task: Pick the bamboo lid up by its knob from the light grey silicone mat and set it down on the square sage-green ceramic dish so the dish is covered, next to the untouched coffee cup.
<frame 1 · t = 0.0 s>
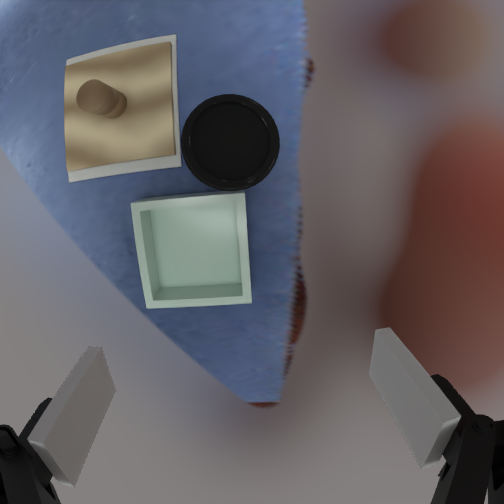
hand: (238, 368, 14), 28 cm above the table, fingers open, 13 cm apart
dish: (196, 243, 41), on the table
coffee cup: (232, 149, 38), on the table
lid: (117, 106, 35), point 1 cm above the table, touching mat
mat: (118, 107, 36), on the table
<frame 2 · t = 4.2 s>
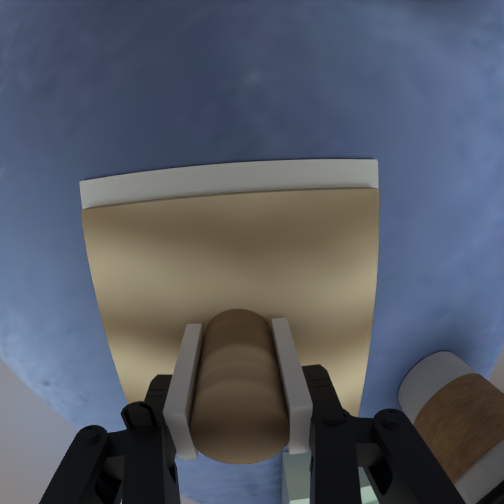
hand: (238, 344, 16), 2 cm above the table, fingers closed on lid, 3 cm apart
dish: (348, 478, 24), on the table
coffee cup: (428, 380, 21), on the table
lid: (238, 328, 18), point 1 cm above the table, touching gripper
mat: (237, 323, 18), on the table
when the fingers open (8 cm above the table, at t = 9.2 s): lid drops 2 cm, resting on dish.
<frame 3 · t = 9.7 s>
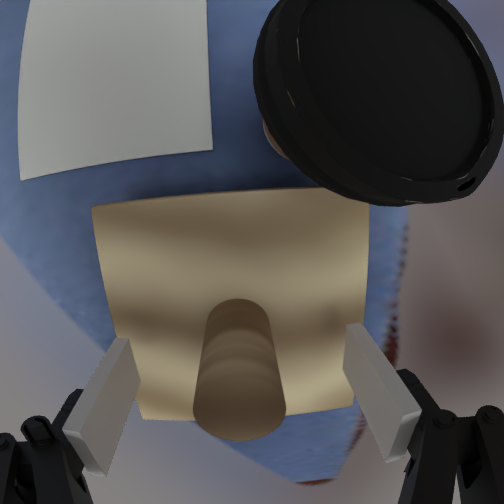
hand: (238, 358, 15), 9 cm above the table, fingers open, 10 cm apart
coffee cup: (304, 123, 21), on the table
lid: (237, 317, 19), point 5 cm above the table, touching dish
mat: (103, 51, 18), on the table
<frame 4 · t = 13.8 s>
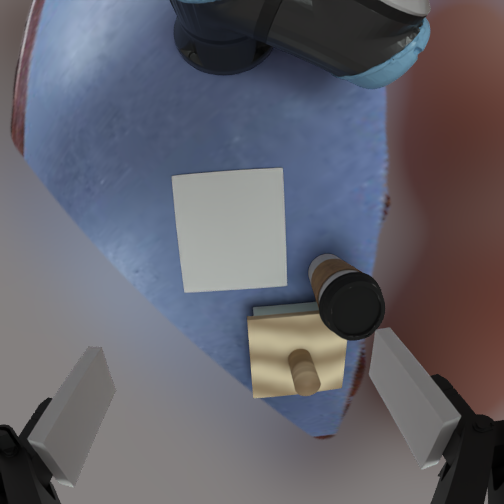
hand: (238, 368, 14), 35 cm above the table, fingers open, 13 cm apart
dish: (293, 338, 53), on the table
coffee cup: (325, 271, 50), on the table
lid: (298, 354, 48), point 5 cm above the table, touching dish
mat: (231, 231, 48), on the table
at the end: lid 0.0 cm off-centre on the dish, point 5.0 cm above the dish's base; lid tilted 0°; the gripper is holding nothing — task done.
